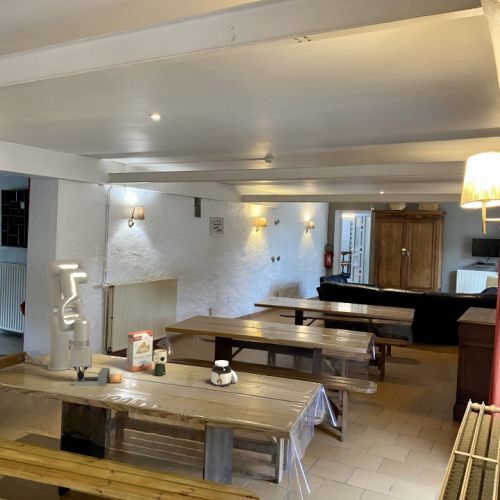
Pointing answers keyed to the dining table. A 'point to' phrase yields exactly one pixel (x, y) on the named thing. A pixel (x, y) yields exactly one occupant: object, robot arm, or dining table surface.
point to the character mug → (160, 361)
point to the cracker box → (139, 350)
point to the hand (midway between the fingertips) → (80, 379)
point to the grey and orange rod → (112, 379)
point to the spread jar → (222, 374)
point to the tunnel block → (101, 381)
